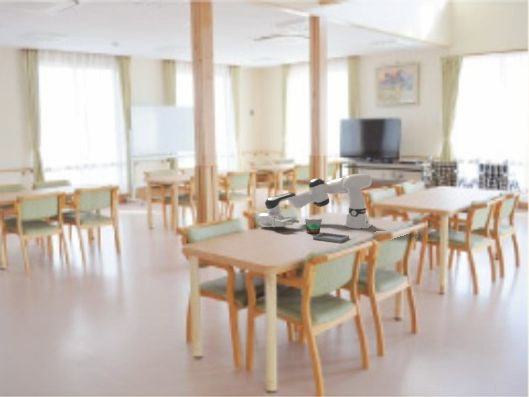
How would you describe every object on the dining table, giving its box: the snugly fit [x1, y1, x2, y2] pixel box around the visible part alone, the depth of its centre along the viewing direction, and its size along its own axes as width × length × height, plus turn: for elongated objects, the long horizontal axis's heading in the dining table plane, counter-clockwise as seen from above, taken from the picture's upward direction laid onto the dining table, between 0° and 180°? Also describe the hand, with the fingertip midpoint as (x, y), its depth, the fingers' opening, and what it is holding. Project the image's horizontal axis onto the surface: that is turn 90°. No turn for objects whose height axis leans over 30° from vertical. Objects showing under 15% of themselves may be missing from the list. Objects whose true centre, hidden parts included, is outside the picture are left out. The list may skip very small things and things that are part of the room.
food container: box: [304, 218, 323, 235], centre depth 368 cm, size 12×6×10 cm, turn 105°
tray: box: [312, 232, 350, 244], centre depth 351 cm, size 15×19×2 cm
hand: (295, 222), depth 375 cm, fingers open, 8 cm apart
